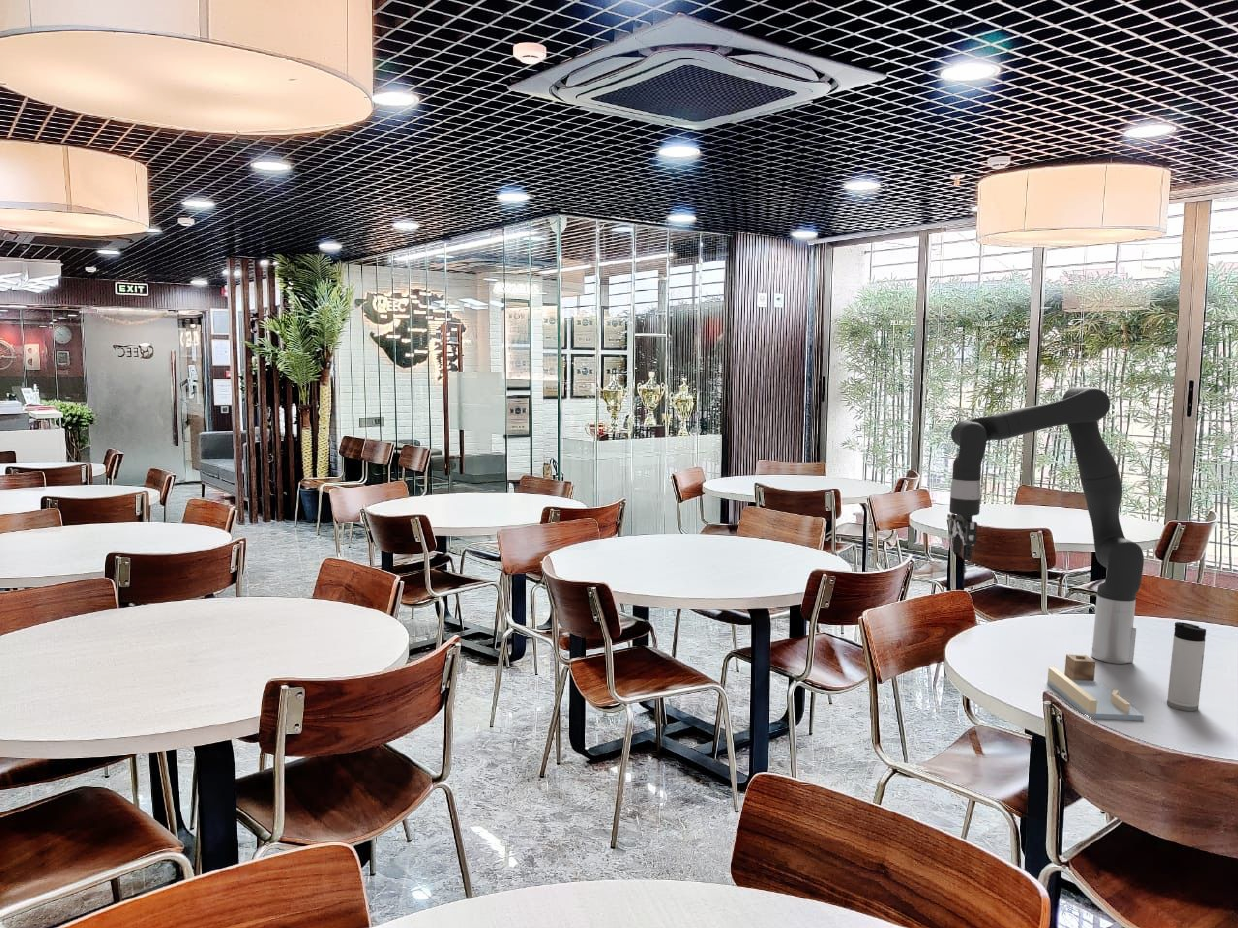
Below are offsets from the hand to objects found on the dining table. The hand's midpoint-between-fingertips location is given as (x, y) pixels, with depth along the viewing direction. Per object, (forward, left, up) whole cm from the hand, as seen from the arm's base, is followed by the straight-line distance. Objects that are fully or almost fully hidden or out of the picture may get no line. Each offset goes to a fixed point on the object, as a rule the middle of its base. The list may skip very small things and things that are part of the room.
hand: (961, 555), depth 242 cm
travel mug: (-42, +32, -28) cm, 60 cm away
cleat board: (-22, +31, -27) cm, 47 cm away
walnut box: (-25, +17, -27) cm, 41 cm away
